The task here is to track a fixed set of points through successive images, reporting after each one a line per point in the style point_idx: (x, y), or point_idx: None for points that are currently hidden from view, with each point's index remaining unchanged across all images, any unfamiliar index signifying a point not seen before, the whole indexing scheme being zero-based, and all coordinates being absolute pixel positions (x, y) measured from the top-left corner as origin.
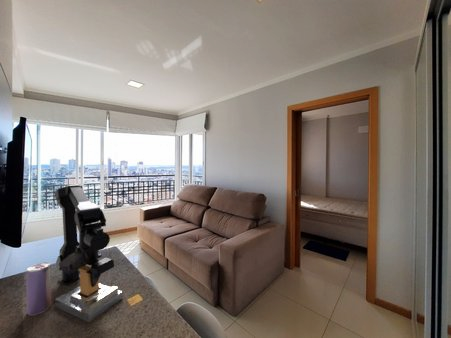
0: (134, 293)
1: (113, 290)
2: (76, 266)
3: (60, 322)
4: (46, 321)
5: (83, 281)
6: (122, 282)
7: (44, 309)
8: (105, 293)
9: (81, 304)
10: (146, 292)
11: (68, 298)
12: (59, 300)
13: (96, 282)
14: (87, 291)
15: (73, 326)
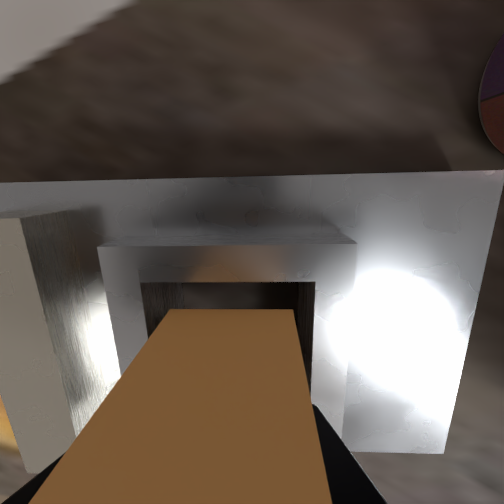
0: None
1: (14, 434)
2: None
3: (214, 88)
4: (332, 39)
5: (207, 443)
6: None
7: (488, 81)
8: (24, 386)
9: (171, 234)
10: (15, 474)
11: (376, 233)
12: (436, 179)
13: None
14: (155, 335)
15: (85, 111)
